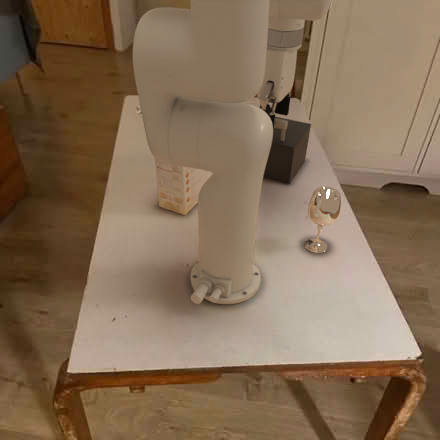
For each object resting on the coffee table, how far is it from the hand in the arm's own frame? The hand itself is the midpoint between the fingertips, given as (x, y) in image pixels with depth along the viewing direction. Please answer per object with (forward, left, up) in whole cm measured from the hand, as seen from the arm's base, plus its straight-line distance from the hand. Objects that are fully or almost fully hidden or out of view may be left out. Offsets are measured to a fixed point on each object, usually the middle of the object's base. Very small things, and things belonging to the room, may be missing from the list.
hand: (273, 122), depth 98 cm
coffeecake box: (-16, +13, -13) cm, 25 cm away
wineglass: (-21, -18, -13) cm, 31 cm away
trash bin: (+5, 0, -13) cm, 14 cm away
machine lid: (+4, 0, -4) cm, 6 cm away
